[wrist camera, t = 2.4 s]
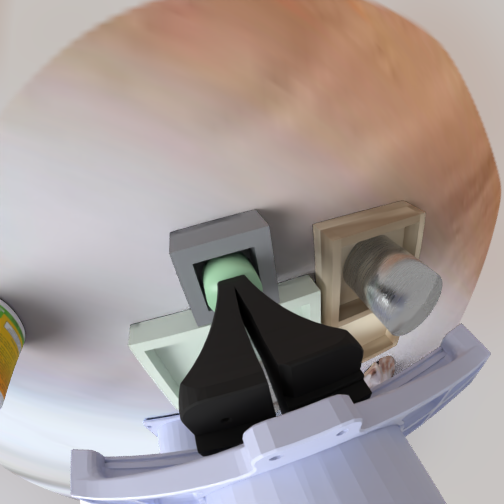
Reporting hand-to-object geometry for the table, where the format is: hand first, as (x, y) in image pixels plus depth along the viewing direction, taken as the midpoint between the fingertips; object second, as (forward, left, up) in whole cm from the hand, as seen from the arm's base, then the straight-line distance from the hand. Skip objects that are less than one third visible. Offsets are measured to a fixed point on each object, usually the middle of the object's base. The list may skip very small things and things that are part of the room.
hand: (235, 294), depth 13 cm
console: (0, 0, -4) cm, 4 cm away
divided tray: (-7, -10, -4) cm, 12 cm away
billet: (-3, -10, -3) cm, 11 cm away
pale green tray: (-8, +1, -4) cm, 8 cm away
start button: (0, 0, -2) cm, 2 cm away
